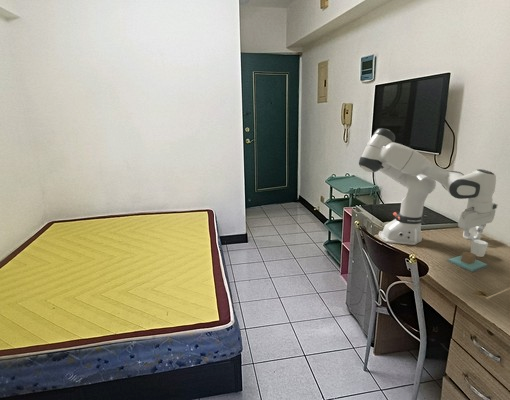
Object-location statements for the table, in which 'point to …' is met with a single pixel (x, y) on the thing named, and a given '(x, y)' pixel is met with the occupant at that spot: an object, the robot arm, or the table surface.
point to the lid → (468, 261)
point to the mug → (473, 234)
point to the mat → (467, 269)
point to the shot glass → (478, 247)
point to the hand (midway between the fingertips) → (473, 234)
